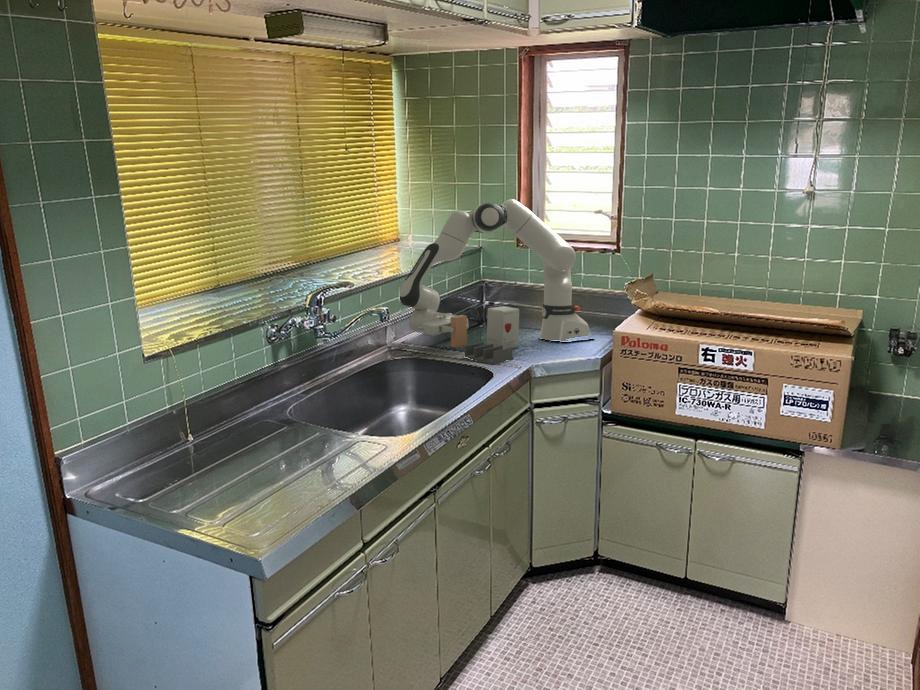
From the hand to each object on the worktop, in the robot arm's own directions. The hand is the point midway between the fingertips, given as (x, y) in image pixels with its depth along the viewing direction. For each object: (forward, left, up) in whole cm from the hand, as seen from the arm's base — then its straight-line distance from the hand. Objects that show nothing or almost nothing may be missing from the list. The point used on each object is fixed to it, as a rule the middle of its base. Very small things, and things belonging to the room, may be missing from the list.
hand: (460, 328), depth 272 cm
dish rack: (-7, +12, -9) cm, 17 cm away
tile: (0, -1, -7) cm, 7 cm away
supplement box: (-19, -6, -10) cm, 22 cm away
